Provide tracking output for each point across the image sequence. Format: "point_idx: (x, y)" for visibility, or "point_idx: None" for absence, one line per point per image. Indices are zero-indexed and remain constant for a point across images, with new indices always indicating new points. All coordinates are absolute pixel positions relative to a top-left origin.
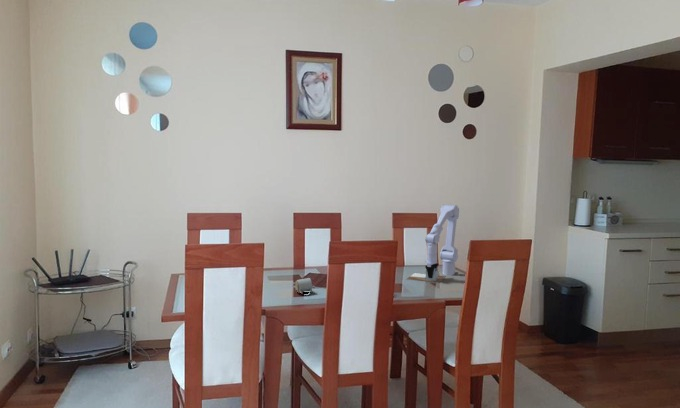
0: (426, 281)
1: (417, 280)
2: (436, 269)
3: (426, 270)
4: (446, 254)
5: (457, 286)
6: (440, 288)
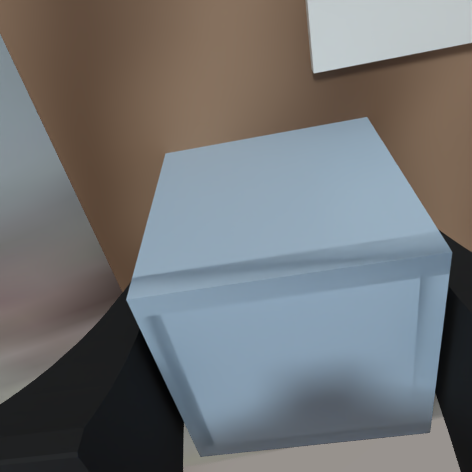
0: (86, 206)
1: (8, 21)
2: (368, 429)
3: (133, 310)
4: None
5: (214, 455)
6: (10, 393)
